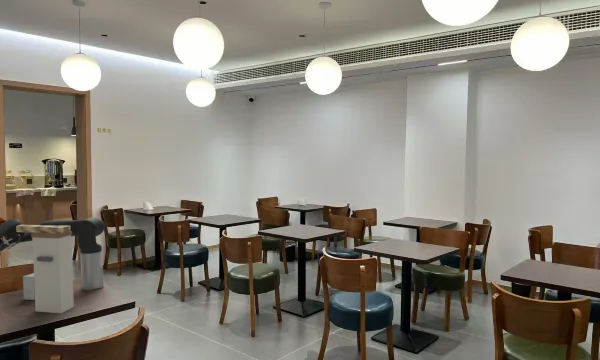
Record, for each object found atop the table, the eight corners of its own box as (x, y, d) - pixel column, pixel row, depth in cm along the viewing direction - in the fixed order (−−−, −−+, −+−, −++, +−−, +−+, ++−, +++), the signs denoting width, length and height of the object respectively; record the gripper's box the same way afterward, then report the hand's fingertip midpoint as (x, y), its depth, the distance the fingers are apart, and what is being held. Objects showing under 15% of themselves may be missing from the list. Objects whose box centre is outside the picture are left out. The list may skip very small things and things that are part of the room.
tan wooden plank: (70, 231, 177) (70, 225, 176) (61, 234, 172) (61, 227, 172) (24, 230, 181) (24, 224, 181) (14, 232, 176) (14, 226, 176)
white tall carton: (74, 306, 180) (72, 231, 178) (59, 314, 171) (56, 235, 169) (48, 305, 182) (45, 230, 180) (32, 312, 174) (28, 234, 172)
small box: (34, 300, 188) (33, 276, 188) (23, 299, 189) (22, 276, 189) (48, 294, 196) (47, 271, 196) (37, 293, 197) (36, 271, 197)
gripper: (-36, 252, 175) (-8, 233, 172) (-6, 245, 189) (21, 227, 186) (-28, 268, 175) (1, 250, 172) (2, 260, 189) (29, 242, 186)
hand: (11, 238), depth 179 cm, fingers open, 8 cm apart
